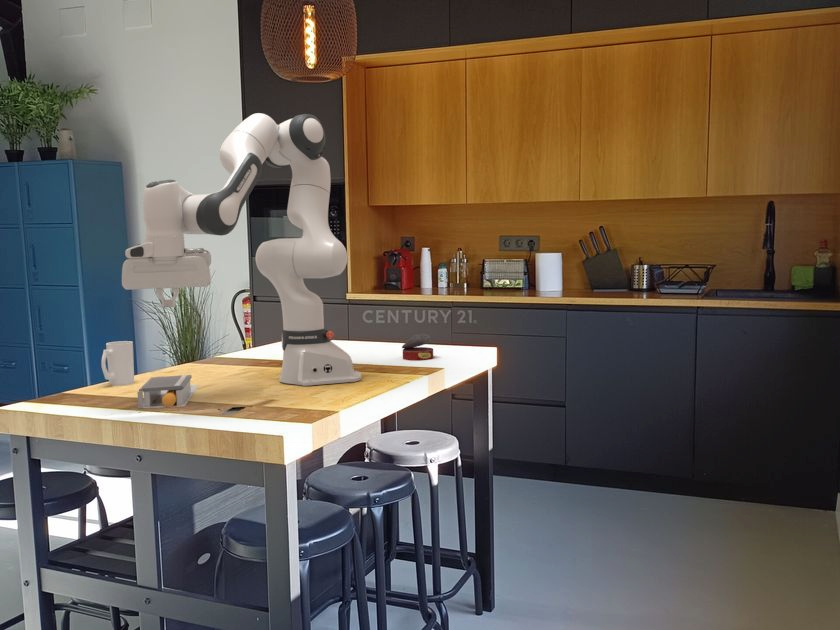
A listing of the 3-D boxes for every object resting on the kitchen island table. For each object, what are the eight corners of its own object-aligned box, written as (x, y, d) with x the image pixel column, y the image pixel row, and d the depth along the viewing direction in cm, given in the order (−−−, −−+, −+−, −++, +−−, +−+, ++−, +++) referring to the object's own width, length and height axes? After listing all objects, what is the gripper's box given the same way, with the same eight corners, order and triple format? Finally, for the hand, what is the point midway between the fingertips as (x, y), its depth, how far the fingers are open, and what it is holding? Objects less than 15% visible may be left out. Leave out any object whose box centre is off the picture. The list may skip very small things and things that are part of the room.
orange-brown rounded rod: (177, 398, 196) (185, 389, 196) (170, 409, 184) (178, 398, 184) (167, 391, 195) (174, 381, 195) (159, 401, 183) (167, 391, 183)
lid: (191, 377, 200) (191, 374, 200) (183, 389, 185) (183, 385, 185) (150, 380, 198) (150, 377, 198) (139, 392, 184) (138, 388, 184)
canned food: (407, 375, 251) (392, 348, 250) (412, 366, 261) (397, 340, 260) (438, 359, 249) (423, 331, 248) (442, 350, 258) (427, 324, 257)
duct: (198, 388, 211) (198, 370, 210) (185, 410, 184) (184, 389, 184) (157, 390, 209) (156, 372, 208) (138, 412, 183) (136, 391, 182)
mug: (121, 383, 220) (119, 340, 219) (140, 385, 217) (138, 341, 216) (93, 390, 211) (90, 345, 210) (113, 392, 208) (110, 346, 207)
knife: (225, 419, 174) (204, 418, 175) (226, 424, 174) (205, 423, 175) (267, 395, 195) (248, 394, 196) (267, 399, 195) (248, 398, 196)
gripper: (211, 247, 193) (214, 304, 195) (123, 250, 190) (127, 307, 192) (209, 248, 187) (212, 306, 189) (118, 250, 184) (122, 310, 186)
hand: (168, 307), depth 190 cm, fingers closed
